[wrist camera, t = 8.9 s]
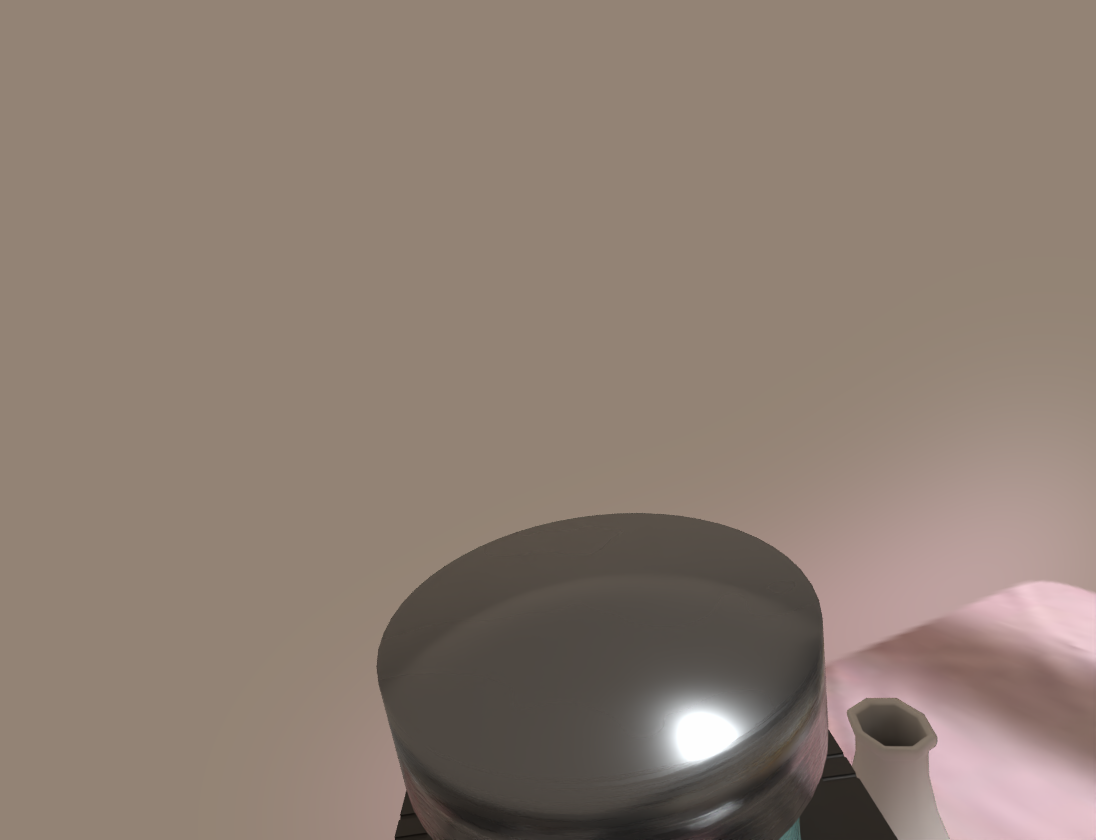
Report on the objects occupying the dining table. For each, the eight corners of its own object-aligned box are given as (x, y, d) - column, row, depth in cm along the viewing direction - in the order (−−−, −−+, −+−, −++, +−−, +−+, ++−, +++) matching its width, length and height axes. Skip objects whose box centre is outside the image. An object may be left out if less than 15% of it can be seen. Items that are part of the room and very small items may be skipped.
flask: (781, 849, 31) (769, 686, 29) (908, 814, 32) (906, 653, 30) (874, 1012, 24) (867, 815, 22) (1033, 963, 25) (1044, 767, 23)
